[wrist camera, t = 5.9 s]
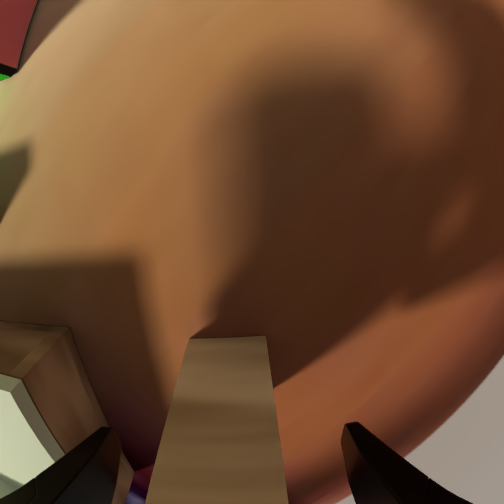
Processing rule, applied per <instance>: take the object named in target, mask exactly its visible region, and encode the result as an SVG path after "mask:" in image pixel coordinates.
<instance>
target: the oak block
mask: <svg viewBox="0 0 504 504" xmlns="http://www.w3.org/2000/svg"><path fill="white" fill-rule="evenodd" d="M145 504H289V503H288V496H287V488H286V481H285V473H284V466H283V459H282V451H281V444H280V436H279V429H278V421H277V414H276V407H275V399H274V392H273V385H272V377H271V370H270V363H269V355H268V348H267V341H266V336H250V337H231V338H203V339H189V341H188V345H187V348H186V351H185V355H184V358H183V362H182V365H181V369H180V372H179V376H178V379H177V383H176V386H175V390H174V393H173V397H172V401H171V404H170V408H169V411H168V415H167V419H166V423H165V426H164V430H163V434H162V438H161V442H160V445H159V449H158V453H157V457H156V461H155V465H154V469H153V473H152V477H151V481H150V485H149V490H148V494H147V498H146V502H145Z"/></svg>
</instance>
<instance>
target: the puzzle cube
mask: <svg viewBox="0 0 504 504" xmlns="http://www.w3.org/2000/svg"><path fill="white" fill-rule="evenodd" d="M37 1H38V0H0V81H1V80H4V79H7V78H9V77H11V76H12V75H13V74H15V73H16V71H17V67H18V62H19V58H20V54H21V50H22V47H23V43H24V40H25V36H26V33H27V30H28V26H29V23H30V20H31V17H32V15H33V12H34V9H35V6H36V4H37Z"/></svg>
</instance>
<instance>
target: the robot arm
mask: <svg viewBox="0 0 504 504" xmlns="http://www.w3.org/2000/svg"><path fill="white" fill-rule="evenodd" d="M341 446H342V451H343V456H344V461H345V466H346V471H347V476H348V481H349V485H350V488H351V491H352V494H353V497H354V499H355V502H356V504H473V503H471V502H469V501H466V500H465V499H463V498H460V497H459V496H457V495H455V494H453V493H451V492H450V491H448V490H446V489H445V488H443V487H442V486H440V485H439V484H437V483H436V482H435V481H433V480H432V479H431V478H429V479H428V476H426V475H425V474H424V473H422V472H421V471H419V470H418V469H417V468H416V467H414V466H413V465H412V464H410V463H409V462H408V461H406V460H405V459H404V458H403V457H401V456H400V455H399V454H397V453H396V452H395V451H394V450H392V449H391V448H390V447H388V446H387V445H386V444H385V443H383V442H382V441H381V440H380V439H378V438H377V437H376V436H375V435H374V434H372V433H371V432H370V431H369V430H367V429H366V428H365V427H364V426H363V425H361V424H360V423H359V422H350V423H346V424H345V425H344V429H343V433H342V437H341ZM121 450H122V444H121V441H120V439H119V437H118V435H117V433H116V431H115V430H114V428H112V427H106V426H102V427H100V428H99V429H97V430H96V431H95V432H94V433H92V434H91V435H90V436H89V437H87V438H86V439H85V440H83V441H82V442H81V443H80V444H78V445H77V446H76V447H74V448H73V449H72V450H70V451H69V452H68V453H66V454H65V455H64V456H63V457H61V458H60V459H59V460H57V461H56V462H55V463H53V464H52V465H51V466H49V467H48V468H47V469H45V470H44V471H42V472H41V473H40V474H38V475H37V476H36V477H35V478H33V479H31V480H30V481H29V482H27V483H26V484H24V485H23V486H21V487H20V488H18V489H17V490H15V491H13V492H11V493H10V494H8V495H6V496H4V497H2V498H0V504H112V500H113V496H114V492H115V489H116V484H117V478H118V471H119V464H120V457H121Z"/></svg>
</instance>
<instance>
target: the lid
mask: <svg viewBox="0 0 504 504" xmlns="http://www.w3.org/2000/svg"><path fill="white" fill-rule="evenodd" d="M64 455H65V454H64V452H63V451H62V449H61V448H60V446H59V445H58V443H57V442H56V440H55V439H54V437H53V436H52V434H51V433H50V431H49V429H48V428H47V426H46V424H45V423H44V421H43V419H42V418H41V416H40V414H39V413H38V411H37V409H36V407H35V405H34V404H33V402H32V400H31V398H30V396H29V394H28V392H27V390H26V388H25V386H24V384H23V382H22V380H21V379H17V378H13V377H9V376H6V375H2V374H0V498H2V497H4V496H6V495H8V494H10V493H11V492H13V491H15V490H17V489H18V488H20V487H21V486H23V485H24V484H26V483H27V482H29V481H30V480H31V479H33V478H35V477H36V476H37V475H38V474H40V473H41V472H42V471H44V470H45V469H47V468H48V467H49V466H51V465H52V464H53V463H55V462H56V461H57V460H59V459H60V458H61V457H63V456H64Z"/></svg>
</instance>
